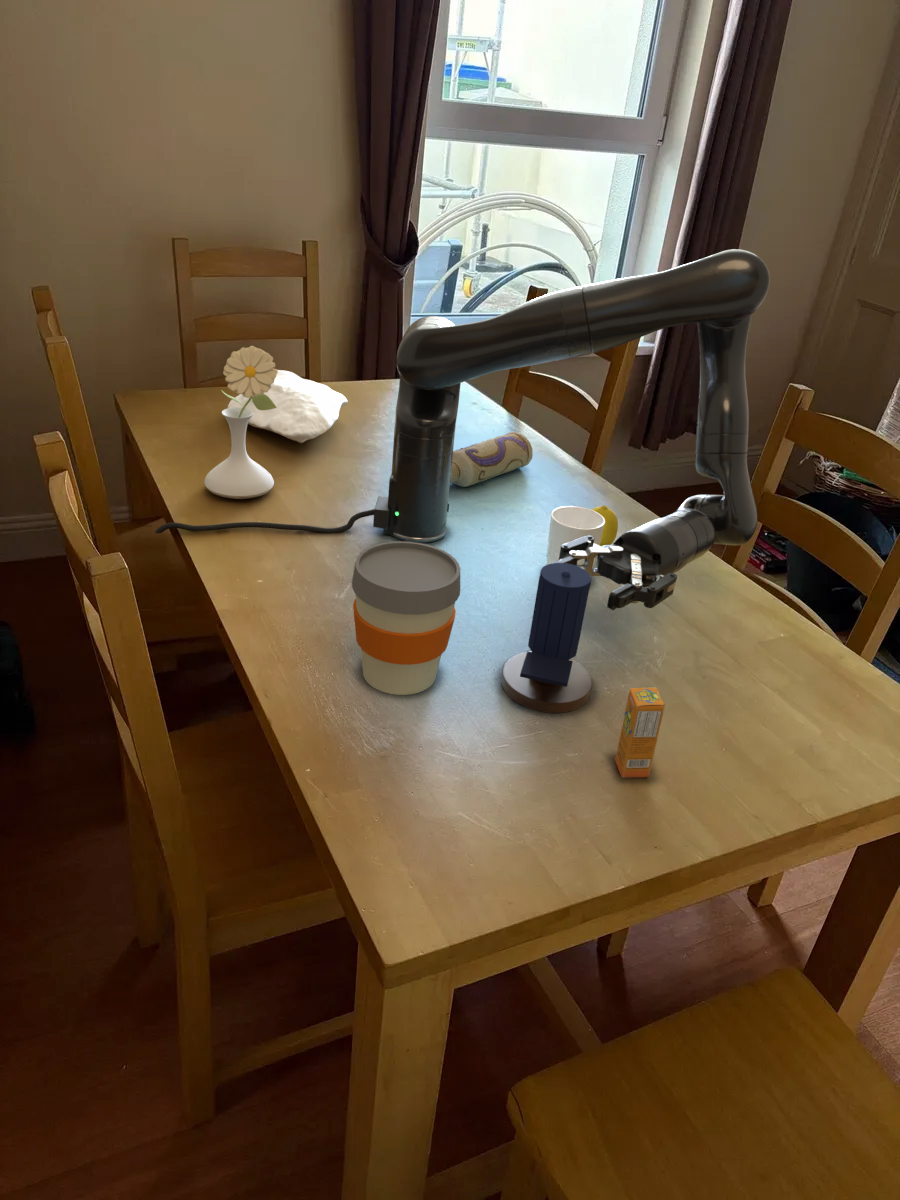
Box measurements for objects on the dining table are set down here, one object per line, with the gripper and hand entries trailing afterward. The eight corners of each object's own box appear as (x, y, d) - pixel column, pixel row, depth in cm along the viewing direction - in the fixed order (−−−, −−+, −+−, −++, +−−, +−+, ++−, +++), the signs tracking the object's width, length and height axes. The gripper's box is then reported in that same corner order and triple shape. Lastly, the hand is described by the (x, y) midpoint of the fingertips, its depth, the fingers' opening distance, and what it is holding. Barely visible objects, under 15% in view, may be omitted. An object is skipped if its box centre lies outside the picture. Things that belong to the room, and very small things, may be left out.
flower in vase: (190, 495, 147) (182, 343, 135) (230, 472, 156) (225, 328, 144) (258, 513, 143) (256, 359, 131) (295, 490, 153) (296, 343, 140)
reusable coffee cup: (413, 718, 101) (423, 605, 94) (326, 677, 107) (329, 567, 99) (469, 669, 111) (482, 563, 103) (387, 633, 116) (394, 530, 109)
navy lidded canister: (532, 630, 110) (545, 555, 104) (579, 640, 109) (594, 564, 103) (518, 676, 101) (530, 596, 96) (568, 687, 100) (584, 607, 95)
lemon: (611, 561, 140) (621, 515, 136) (577, 555, 141) (585, 509, 137) (613, 546, 145) (622, 501, 141) (579, 541, 146) (587, 496, 142)
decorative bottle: (501, 458, 175) (506, 426, 171) (531, 471, 170) (536, 438, 167) (407, 488, 158) (410, 453, 154) (438, 503, 153) (441, 467, 150)
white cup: (597, 572, 137) (609, 513, 132) (587, 595, 130) (599, 533, 125) (548, 560, 139) (558, 501, 134) (535, 582, 132) (545, 521, 127)
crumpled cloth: (322, 389, 197) (316, 349, 192) (384, 444, 171) (380, 399, 165) (218, 412, 189) (209, 370, 184) (266, 473, 162) (258, 426, 157)
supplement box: (611, 758, 99) (628, 685, 94) (641, 759, 99) (660, 685, 94) (618, 779, 96) (637, 704, 91) (649, 779, 96) (669, 705, 91)
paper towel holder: (500, 707, 105) (516, 597, 97) (501, 655, 114) (517, 552, 107) (593, 718, 105) (616, 609, 97) (587, 665, 114) (608, 562, 107)
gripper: (616, 505, 118) (539, 536, 108) (710, 545, 110) (637, 583, 100) (605, 555, 122) (531, 590, 112) (696, 597, 114) (624, 639, 104)
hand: (581, 587), depth 106 cm, fingers open, 8 cm apart
